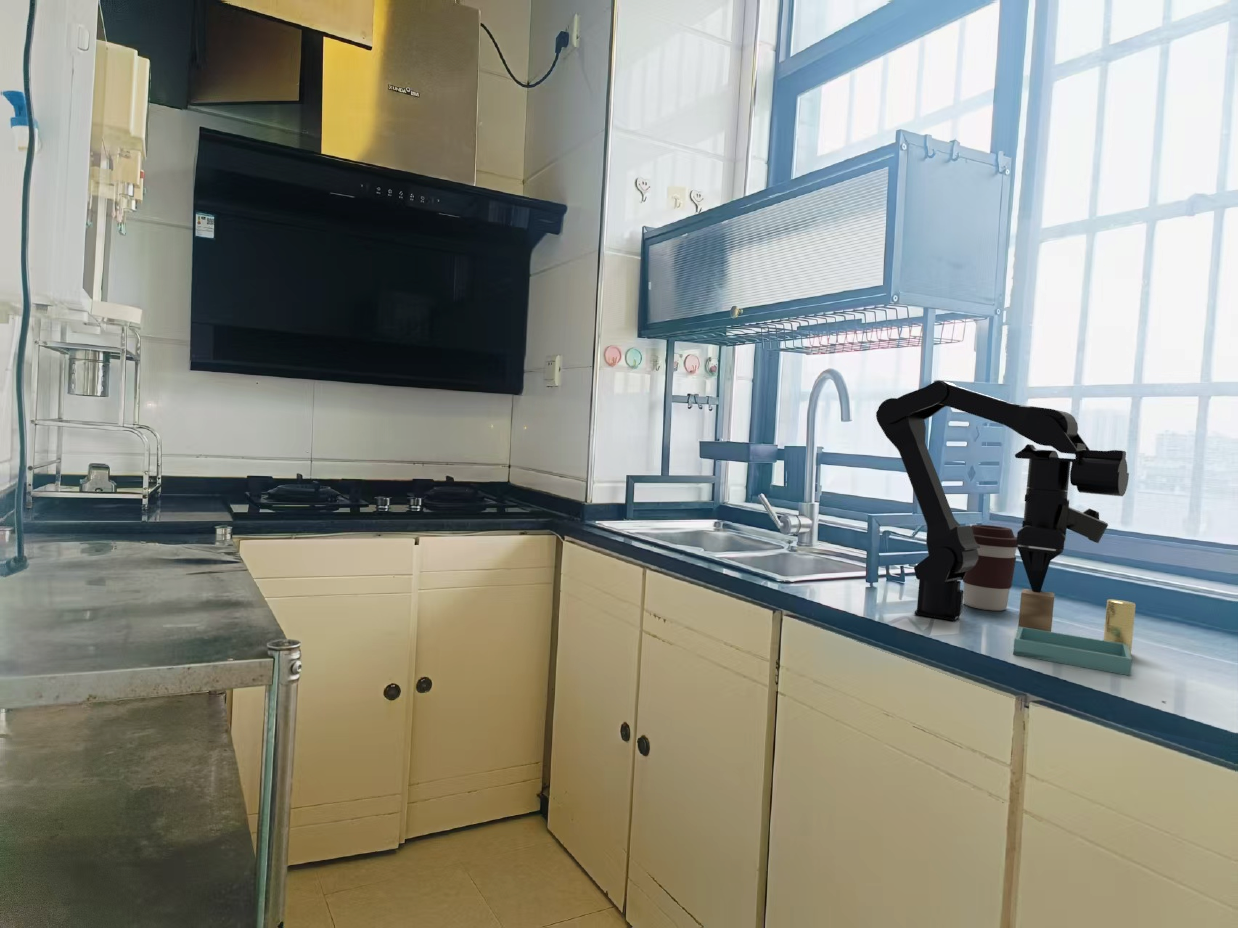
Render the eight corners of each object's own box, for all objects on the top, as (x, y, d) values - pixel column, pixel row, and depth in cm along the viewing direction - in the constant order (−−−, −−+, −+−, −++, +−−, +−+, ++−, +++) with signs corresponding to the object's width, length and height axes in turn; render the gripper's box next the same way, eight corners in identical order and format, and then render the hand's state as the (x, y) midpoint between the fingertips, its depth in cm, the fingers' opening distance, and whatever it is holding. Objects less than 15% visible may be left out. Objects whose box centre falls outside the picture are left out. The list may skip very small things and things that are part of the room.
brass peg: (1102, 651, 116) (1107, 601, 116) (1102, 646, 119) (1106, 598, 119) (1131, 656, 114) (1136, 606, 114) (1130, 651, 117) (1134, 602, 117)
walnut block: (1017, 636, 122) (1021, 592, 122) (1019, 631, 126) (1023, 588, 126) (1049, 642, 120) (1053, 597, 120) (1050, 636, 124) (1054, 593, 124)
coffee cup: (964, 598, 152) (971, 522, 151) (1020, 608, 146) (1027, 528, 145) (949, 605, 144) (955, 524, 144) (1007, 615, 138) (1014, 531, 137)
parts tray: (1013, 654, 111) (1014, 639, 111) (1017, 640, 119) (1019, 626, 119) (1130, 675, 104) (1131, 659, 104) (1126, 659, 112) (1127, 644, 112)
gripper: (1109, 497, 110) (1098, 606, 111) (1105, 492, 126) (1096, 588, 127) (1021, 489, 116) (1011, 593, 116) (1028, 486, 132) (1019, 577, 132)
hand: (1037, 588), depth 123 cm, fingers open, 9 cm apart
